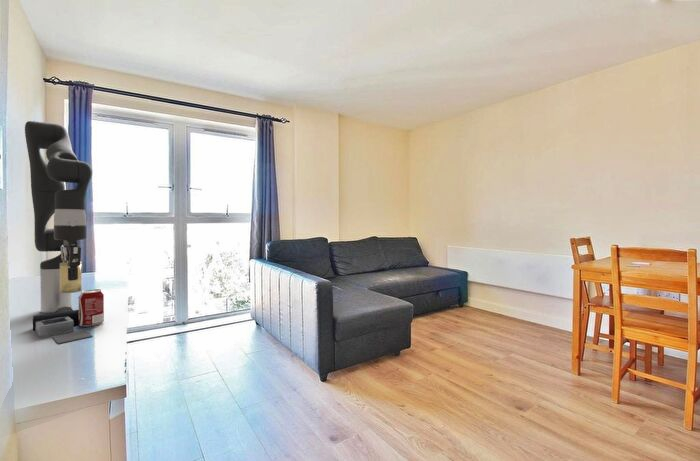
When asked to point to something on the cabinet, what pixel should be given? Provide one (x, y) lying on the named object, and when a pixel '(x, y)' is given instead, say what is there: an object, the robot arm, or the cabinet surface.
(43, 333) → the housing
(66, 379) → the cabinet surface
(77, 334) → the mat
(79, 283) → the brass cylinder
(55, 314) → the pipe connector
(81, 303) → the soda can
